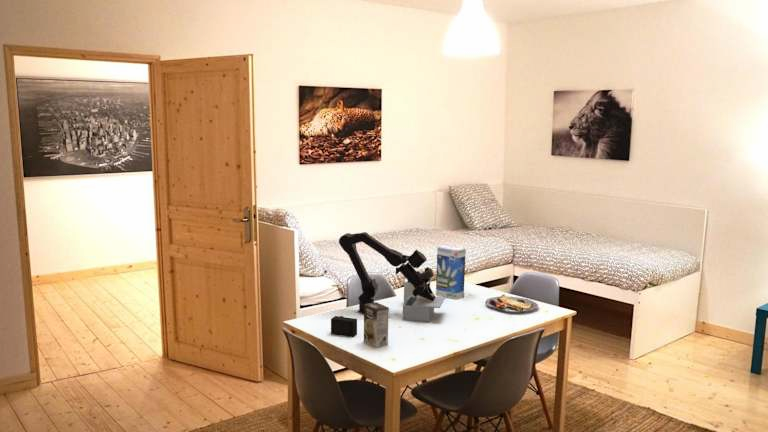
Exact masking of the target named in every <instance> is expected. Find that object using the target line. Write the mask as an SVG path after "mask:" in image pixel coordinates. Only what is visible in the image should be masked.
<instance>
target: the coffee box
mask: <svg viewBox="0 0 768 432" xmlns="http://www.w3.org/2000/svg"><path fill="white" fill-rule="evenodd" d="M389 311H390V309H389V306H386V305H384V304H381V303H378V302H376V301H374V303H368V304H364V314H363V342H364V343H366V344H368V345H370V346H372V347H373V348H375V349H378V347H379V348H383V347H386V346H389V315H390V313H389Z"/></svg>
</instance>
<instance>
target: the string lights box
mask: <svg viewBox="0 0 768 432" xmlns="http://www.w3.org/2000/svg"><path fill="white" fill-rule="evenodd" d="M466 250H467V249H466V247H464V248H463V247H460V246H454V245H448V244H443V245H439V246H437V250H436V254H437V255H436V257H437V258H436V276H435V277H436V279H435V280H436V281H435V285H436V286H435V296H438V297H445V298H449V299H453V300H458V299H462V298H464V297H465V276H466V275H465V271H466V270H465V269H466V252H467V251H466Z"/></svg>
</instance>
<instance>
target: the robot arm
mask: <svg viewBox="0 0 768 432" xmlns="http://www.w3.org/2000/svg"><path fill="white" fill-rule="evenodd" d="M338 243H339V245H340V247H341V249H343V251H344V252H345V253H346V254H347V255H348V257H349V259H350V261H351V263H352V266H353V268H354V270H355V271H356V274H357V276H358V278H359V280H360V284H361V291H362V293H361V294H360V295H359V296H358V301H359V302H358V303H359V306H358V307H359V309H358V310H357V313H359V314H363V315H364V304H368V303H375V299H374V297H375V296H376V295H377V293H378V292H379V284H378V283H377V281H376V279H375V278H373V279H372V278H371V277H370V275H369V273H368V271H367V269H366V267H365V265H364V262H363V260H362V258H361V256H360V254H359V251H358V250H357V249H358V248H357V244H358V243H364V244H365V245H367V247H369V248H371V249H372V250H373V251H376V252H377V253H379V254H380V255H381V256H382V257H383V258H384V259H385V260H386V261H387V263H389V264H390V265H391V266H392V267H396V268H395V275H398V274H399V273H400V274H401V275H402V276H404V279H407V280H408V281H407V282H408V283H409V282H410V283H411V284H412V285H413V286H414V290H413V293H412V294H413V295H414V296H415V297H416V296H417V295H418V296H421V297H424V298H426V299H429V300H431V301H434V299H435V297H436V295H435V294H434V291H433V290H432V289H431V278H432V279H433V277H434V276H435V274H434V272H433V271H434V270H433V269H432V268H430V267H428V266H427V267H425V268H424V271H422V272H420V271H417V270H416V269H419V268H420V267H421V266H422V265H423V264H424V263H426V261H427V259H428V258H427V257H426V255H425V254H424V253H422V252H421V251H420V250H418V249H415V250H414V251H413V253H412V254H411V255H407V254H403V253H402V252H400V251H397V250H396V249H392V248H390V247H387V246H386V245H385V244H383V243H382V242H381V241H379V240H378V239H376V238H374V237H373V236H371V235H370V234H369V233H368V232H365V231H364V232H359V233H358V232H356V233H347V232H346V233H345V234H343V235H341V236H339V239H338ZM430 293H431V294H433V296H432V295H431V294H430Z"/></svg>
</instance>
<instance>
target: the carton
mask: <svg viewBox="0 0 768 432" xmlns="http://www.w3.org/2000/svg"><path fill="white" fill-rule="evenodd" d="M416 299H417V297H413V296H409V297H408V299H407V300H406V302H405V303H404V302H403V305H402V321H405V322H407V321H408V322H417V323H418V322H419V323H430V321H431V319H432V317H433V316H434V313H435V308H430V307H417V306H413V304H414V302H415V300H416Z"/></svg>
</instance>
